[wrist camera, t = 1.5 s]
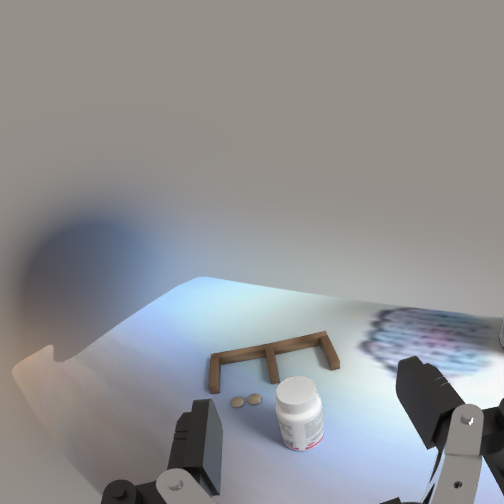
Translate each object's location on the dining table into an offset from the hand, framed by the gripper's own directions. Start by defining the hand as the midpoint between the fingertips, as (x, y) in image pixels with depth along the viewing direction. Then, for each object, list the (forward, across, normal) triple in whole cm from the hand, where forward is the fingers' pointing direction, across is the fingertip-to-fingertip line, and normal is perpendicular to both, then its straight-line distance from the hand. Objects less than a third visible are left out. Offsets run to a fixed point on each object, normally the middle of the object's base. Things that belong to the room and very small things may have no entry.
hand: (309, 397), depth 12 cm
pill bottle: (+14, 0, +20) cm, 24 cm away
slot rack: (+26, +2, +19) cm, 33 cm away
